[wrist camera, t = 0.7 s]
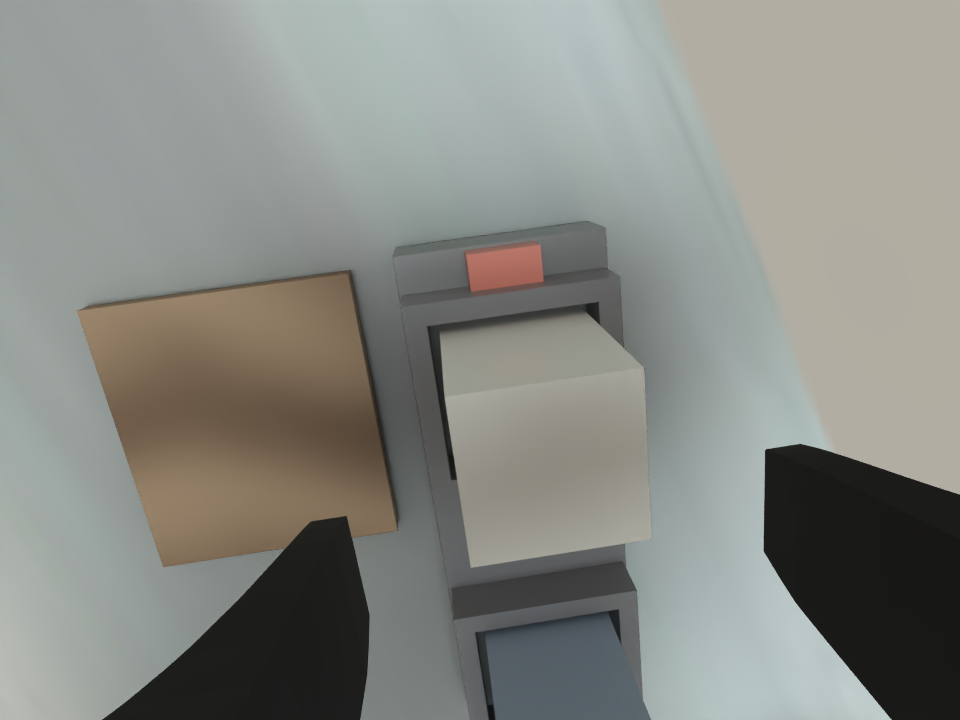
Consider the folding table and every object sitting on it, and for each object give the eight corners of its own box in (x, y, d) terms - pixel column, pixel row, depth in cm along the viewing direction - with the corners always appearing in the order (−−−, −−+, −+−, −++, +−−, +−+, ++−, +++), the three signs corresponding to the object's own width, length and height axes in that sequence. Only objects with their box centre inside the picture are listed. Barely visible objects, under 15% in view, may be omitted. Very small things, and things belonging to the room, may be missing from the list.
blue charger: (605, 679, 22) (666, 856, 17) (495, 697, 22) (519, 882, 17) (597, 587, 21) (660, 744, 16) (481, 606, 21) (501, 771, 15)
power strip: (627, 790, 27) (655, 879, 24) (490, 814, 27) (499, 906, 23) (587, 220, 19) (621, 233, 16) (395, 247, 19) (389, 265, 16)
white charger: (585, 427, 19) (651, 539, 14) (457, 446, 19) (470, 568, 13) (575, 302, 18) (643, 367, 12) (438, 321, 18) (444, 397, 12)
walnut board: (398, 521, 22) (397, 530, 22) (170, 556, 22) (163, 567, 21) (350, 270, 19) (347, 273, 19) (87, 306, 19) (76, 310, 18)
